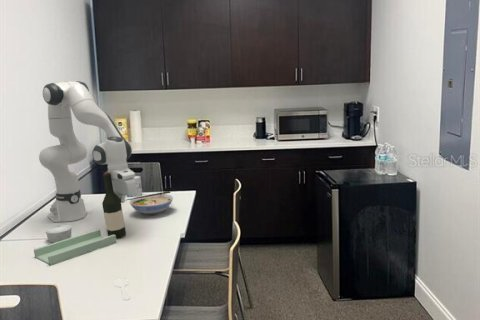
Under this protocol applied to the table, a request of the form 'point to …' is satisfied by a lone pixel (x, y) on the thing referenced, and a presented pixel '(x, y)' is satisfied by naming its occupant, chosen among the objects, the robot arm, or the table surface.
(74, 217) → the robot arm
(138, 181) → the ink box
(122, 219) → the wine bottle
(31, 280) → the table surface
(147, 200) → the ramen bowl
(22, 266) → the table surface
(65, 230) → the ramekin
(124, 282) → the spoon
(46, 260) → the tray
